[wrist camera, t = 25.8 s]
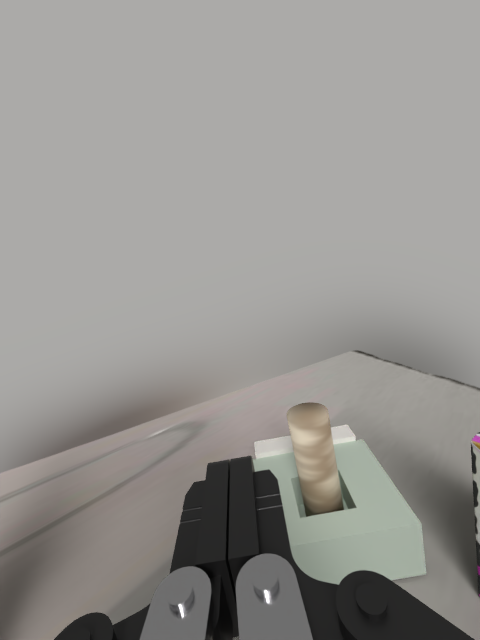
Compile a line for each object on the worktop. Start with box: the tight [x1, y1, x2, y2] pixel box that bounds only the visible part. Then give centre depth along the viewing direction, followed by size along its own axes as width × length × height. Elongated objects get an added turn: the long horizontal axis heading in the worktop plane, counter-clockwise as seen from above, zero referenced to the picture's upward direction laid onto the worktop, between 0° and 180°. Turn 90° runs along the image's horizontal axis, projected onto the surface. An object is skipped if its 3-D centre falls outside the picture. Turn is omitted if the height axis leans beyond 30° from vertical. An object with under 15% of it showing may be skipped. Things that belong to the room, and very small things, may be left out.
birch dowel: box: [287, 403, 344, 517], centre depth 35 cm, size 4×4×14 cm
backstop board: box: [254, 425, 356, 459], centre depth 46 cm, size 14×3×7 cm, turn 91°
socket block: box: [253, 439, 426, 585], centre depth 37 cm, size 16×14×6 cm
